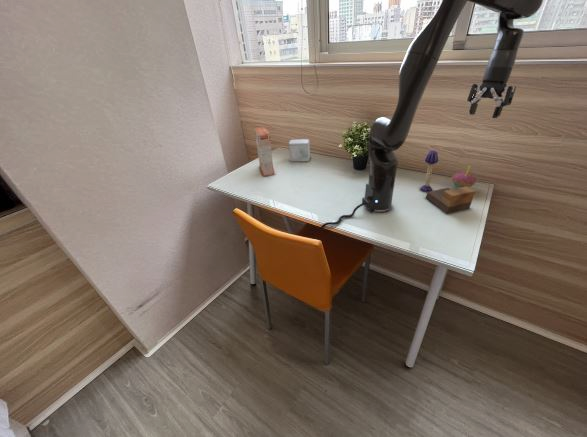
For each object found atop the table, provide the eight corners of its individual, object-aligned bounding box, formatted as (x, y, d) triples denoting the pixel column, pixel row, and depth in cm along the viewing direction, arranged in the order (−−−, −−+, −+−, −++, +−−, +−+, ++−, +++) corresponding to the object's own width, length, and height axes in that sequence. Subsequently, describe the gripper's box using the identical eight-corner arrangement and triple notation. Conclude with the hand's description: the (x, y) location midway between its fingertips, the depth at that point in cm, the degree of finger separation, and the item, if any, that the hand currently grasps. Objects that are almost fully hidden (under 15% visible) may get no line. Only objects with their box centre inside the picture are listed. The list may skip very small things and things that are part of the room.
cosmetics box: (290, 161, 150) (288, 143, 144) (292, 157, 155) (290, 139, 149) (308, 161, 148) (307, 142, 142) (310, 157, 153) (309, 138, 147)
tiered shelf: (446, 213, 98) (451, 196, 94) (425, 198, 108) (429, 181, 104) (469, 208, 100) (475, 191, 96) (446, 194, 110) (451, 177, 105)
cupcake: (475, 194, 107) (485, 166, 101) (452, 194, 109) (460, 166, 102) (468, 184, 114) (477, 157, 107) (446, 184, 116) (453, 157, 109)
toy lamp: (425, 193, 111) (434, 154, 102) (416, 189, 114) (424, 151, 105) (433, 190, 113) (443, 151, 103) (424, 186, 116) (432, 148, 107)
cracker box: (275, 174, 137) (269, 133, 125) (263, 176, 136) (256, 135, 125) (270, 164, 149) (265, 125, 137) (259, 166, 148) (253, 127, 136)
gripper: (472, 65, 96) (458, 114, 104) (516, 65, 85) (496, 119, 93) (485, 66, 99) (471, 112, 107) (529, 66, 88) (509, 118, 96)
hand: (483, 116), depth 100 cm, fingers open, 8 cm apart
